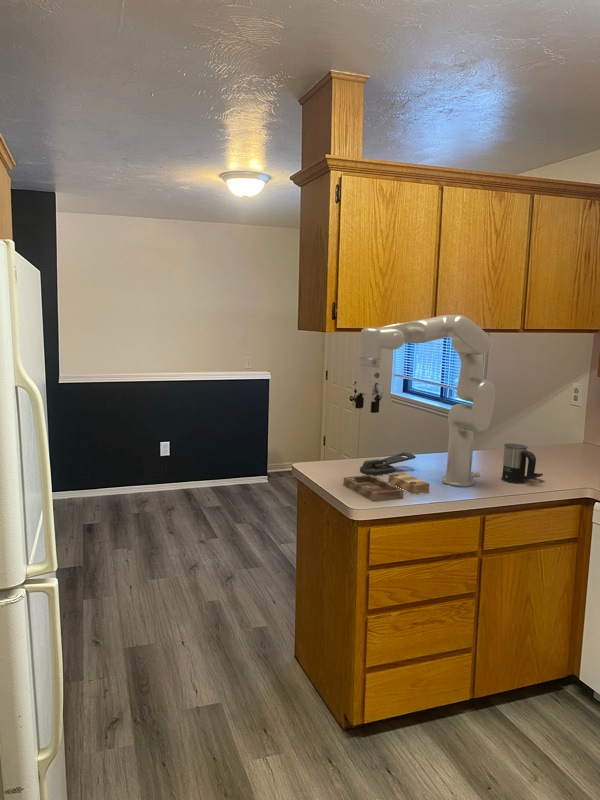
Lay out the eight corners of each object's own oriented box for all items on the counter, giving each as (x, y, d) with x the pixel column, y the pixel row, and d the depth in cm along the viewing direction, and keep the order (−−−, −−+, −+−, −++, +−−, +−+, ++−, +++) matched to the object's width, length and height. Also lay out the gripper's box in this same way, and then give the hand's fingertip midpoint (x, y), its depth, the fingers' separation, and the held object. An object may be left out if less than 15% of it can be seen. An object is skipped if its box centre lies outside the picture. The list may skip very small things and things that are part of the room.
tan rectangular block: (388, 484, 235) (388, 473, 235) (402, 482, 238) (403, 472, 238) (413, 495, 221) (414, 484, 221) (428, 493, 224) (429, 482, 224)
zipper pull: (418, 456, 255) (370, 461, 243) (416, 471, 256) (369, 477, 243) (404, 451, 263) (357, 456, 250) (403, 466, 264) (356, 471, 251)
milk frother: (497, 480, 246) (500, 444, 244) (511, 473, 258) (514, 439, 256) (532, 487, 237) (535, 451, 235) (545, 480, 250) (549, 445, 247)
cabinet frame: (343, 485, 230) (343, 475, 229) (371, 482, 235) (371, 472, 235) (373, 501, 211) (374, 491, 210) (403, 498, 216) (403, 488, 215)
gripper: (392, 365, 209) (389, 413, 211) (364, 360, 224) (361, 406, 226) (375, 365, 205) (372, 414, 207) (347, 360, 220) (345, 407, 222)
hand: (366, 410), depth 217 cm, fingers open, 9 cm apart
